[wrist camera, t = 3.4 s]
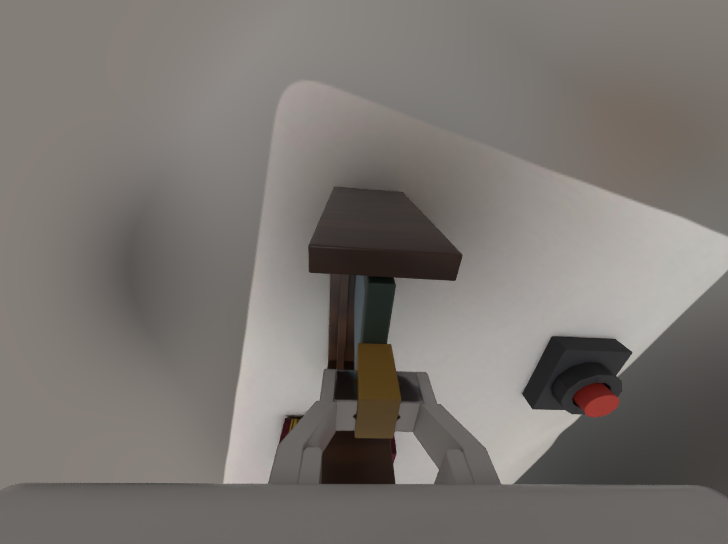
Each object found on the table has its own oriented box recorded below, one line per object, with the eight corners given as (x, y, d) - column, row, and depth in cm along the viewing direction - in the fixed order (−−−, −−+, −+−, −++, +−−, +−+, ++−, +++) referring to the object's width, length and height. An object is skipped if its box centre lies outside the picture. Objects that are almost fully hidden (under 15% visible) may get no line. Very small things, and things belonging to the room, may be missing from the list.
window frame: (333, 186, 22) (308, 244, 10) (403, 192, 23) (463, 254, 10) (329, 360, 31) (312, 507, 19) (378, 361, 32) (395, 506, 19)
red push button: (581, 381, 29) (594, 395, 27) (611, 382, 29) (626, 395, 28) (567, 402, 31) (579, 417, 29) (596, 403, 31) (609, 417, 29)
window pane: (358, 210, 22) (365, 329, 8) (377, 212, 22) (416, 331, 8) (352, 299, 26) (350, 480, 12) (368, 300, 26) (384, 481, 12)
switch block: (552, 336, 31) (578, 362, 27) (615, 339, 31) (649, 364, 28) (522, 394, 35) (541, 423, 32) (578, 395, 36) (603, 424, 32)
